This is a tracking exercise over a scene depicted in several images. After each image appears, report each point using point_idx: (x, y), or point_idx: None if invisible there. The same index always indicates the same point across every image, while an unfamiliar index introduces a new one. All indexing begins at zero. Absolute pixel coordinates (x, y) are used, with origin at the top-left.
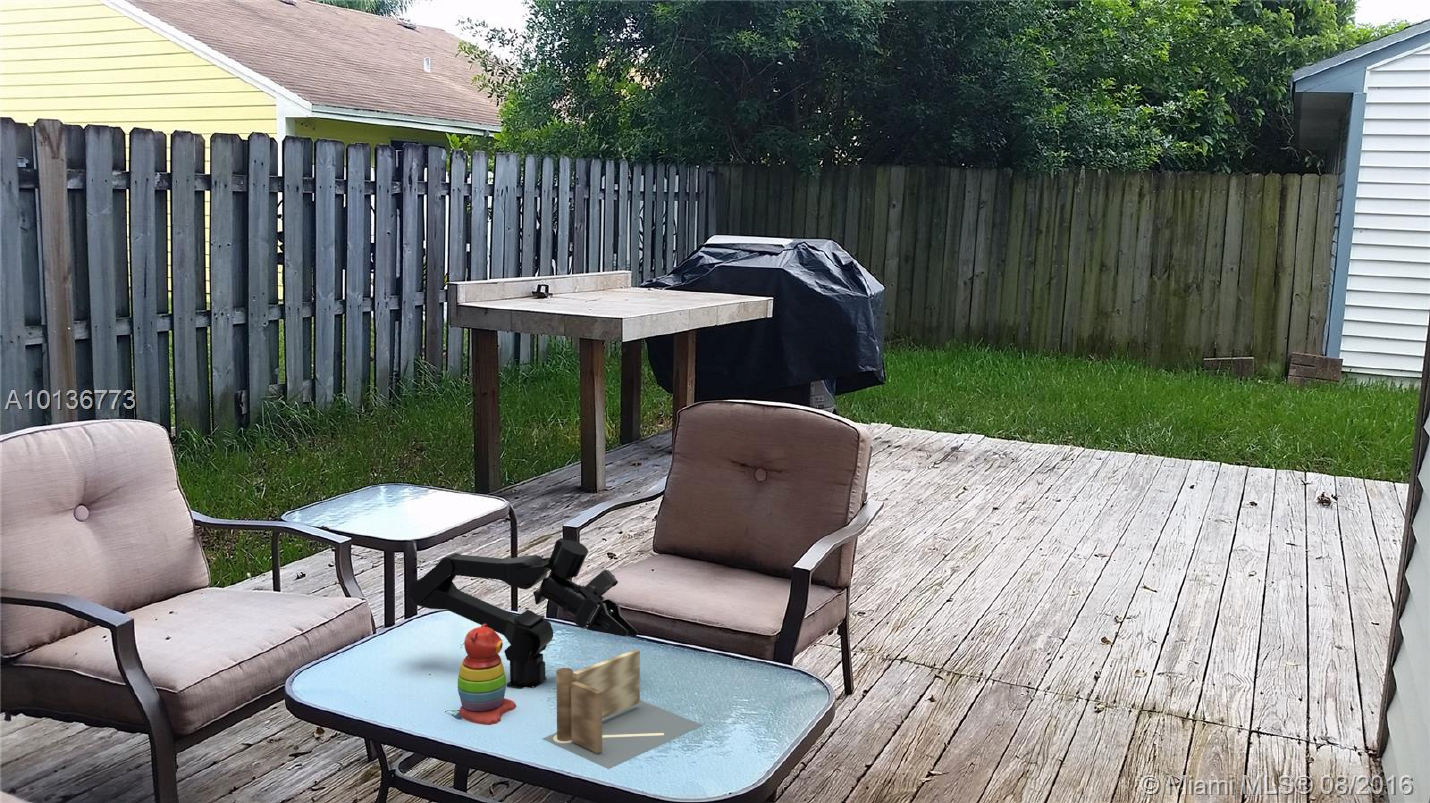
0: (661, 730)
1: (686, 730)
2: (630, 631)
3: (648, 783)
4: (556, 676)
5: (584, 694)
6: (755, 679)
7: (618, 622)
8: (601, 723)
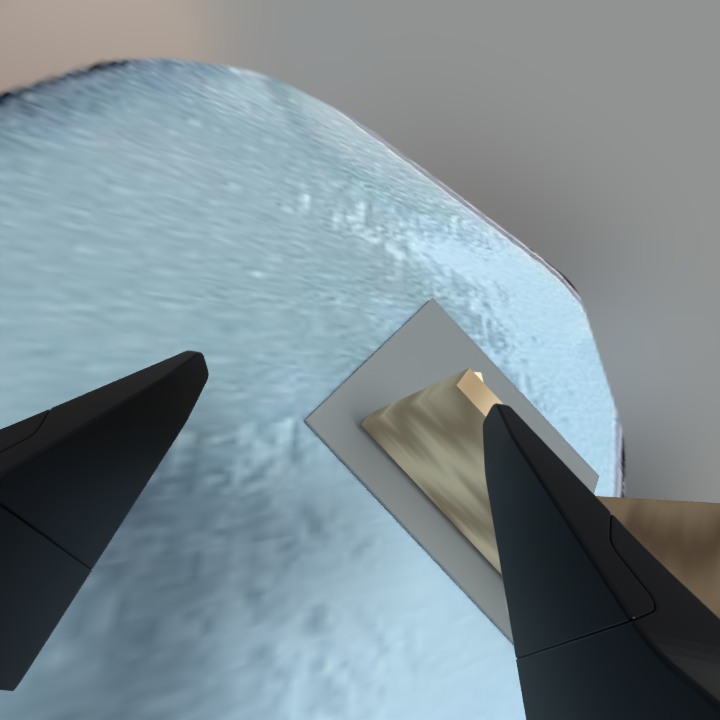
0: None
1: (456, 330)
2: (180, 399)
3: (599, 410)
4: None
5: None
6: (188, 139)
7: (52, 507)
8: (629, 499)
